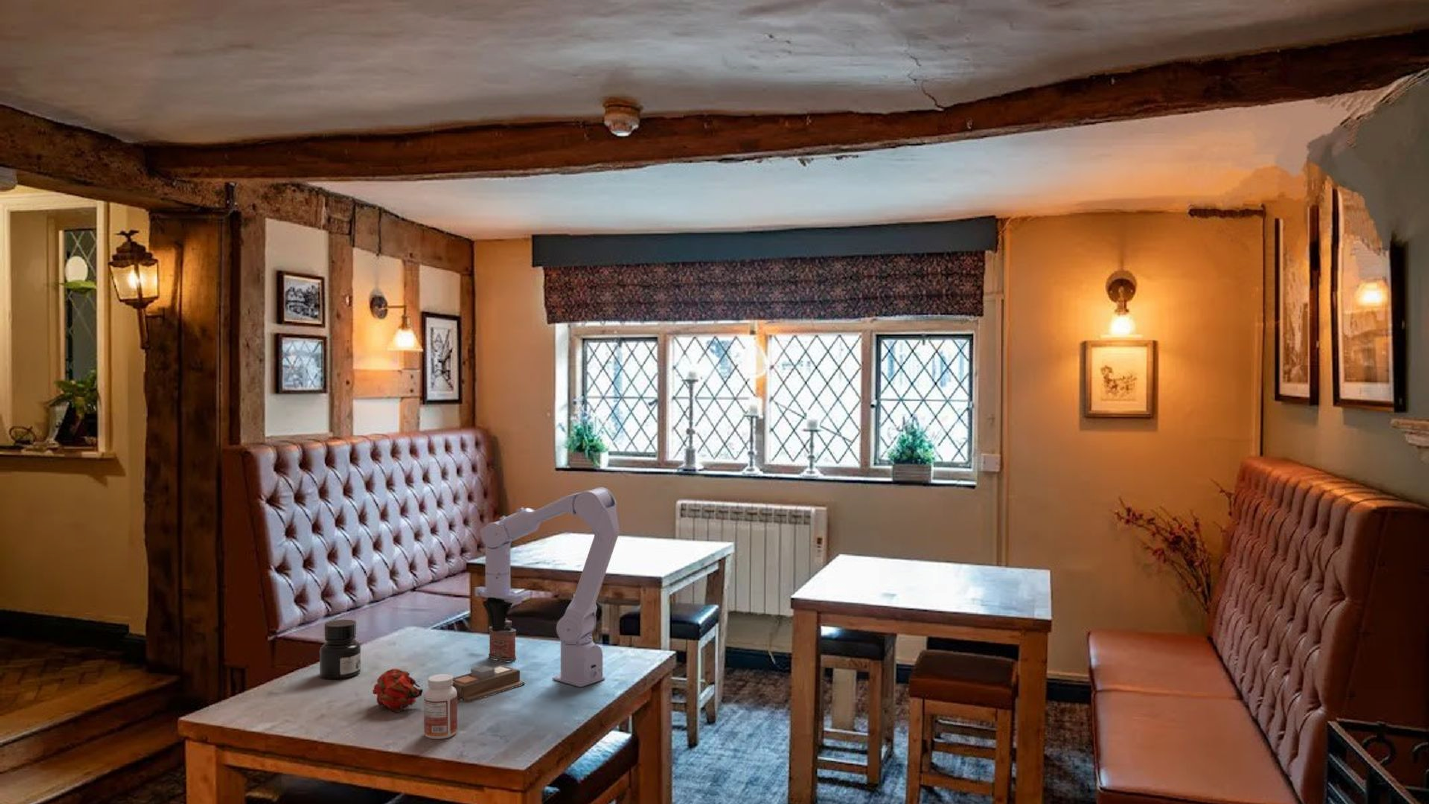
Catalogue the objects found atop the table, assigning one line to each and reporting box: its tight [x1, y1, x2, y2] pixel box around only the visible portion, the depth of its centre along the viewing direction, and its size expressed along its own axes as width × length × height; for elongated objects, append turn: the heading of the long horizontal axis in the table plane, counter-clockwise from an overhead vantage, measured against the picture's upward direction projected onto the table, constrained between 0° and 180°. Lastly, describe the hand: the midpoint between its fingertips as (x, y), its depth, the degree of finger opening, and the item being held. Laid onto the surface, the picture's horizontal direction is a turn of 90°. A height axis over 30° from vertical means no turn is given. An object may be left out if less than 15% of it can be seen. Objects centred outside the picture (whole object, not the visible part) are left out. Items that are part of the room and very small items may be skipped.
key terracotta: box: [454, 676, 478, 685], centre depth 214 cm, size 4×4×2 cm
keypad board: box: [452, 664, 525, 703], centre depth 218 cm, size 10×15×3 cm, turn 142°
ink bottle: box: [319, 619, 362, 680], centre depth 228 cm, size 10×9×12 cm
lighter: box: [488, 617, 517, 662], centre depth 241 cm, size 8×3×10 cm, turn 58°
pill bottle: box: [423, 673, 458, 740], centre depth 190 cm, size 6×6×11 cm
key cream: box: [494, 667, 510, 676], centre depth 221 cm, size 4×4×2 cm
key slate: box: [470, 665, 495, 681], centre depth 218 cm, size 4×4×2 cm
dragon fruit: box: [372, 668, 424, 712], centre depth 205 cm, size 8×8×12 cm
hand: (497, 630), depth 230 cm, fingers closed
